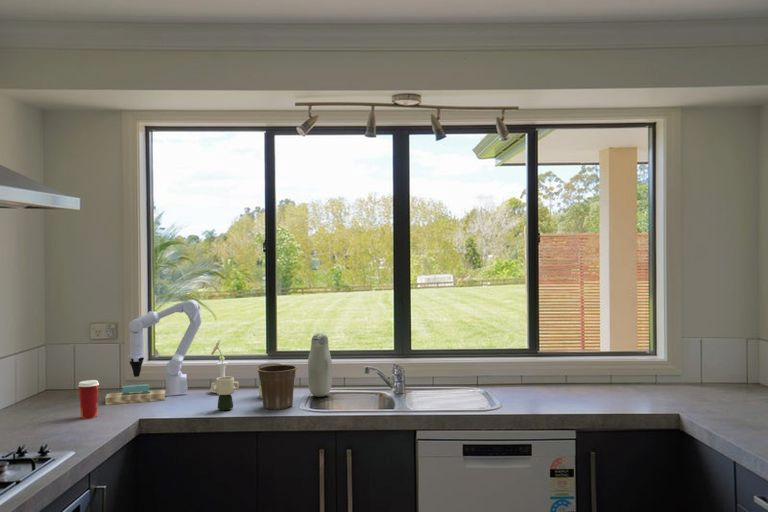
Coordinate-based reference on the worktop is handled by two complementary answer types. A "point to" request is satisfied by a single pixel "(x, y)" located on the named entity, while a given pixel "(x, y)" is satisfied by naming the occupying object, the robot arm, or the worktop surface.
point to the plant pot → (277, 385)
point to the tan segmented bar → (135, 397)
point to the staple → (135, 389)
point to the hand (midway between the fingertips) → (137, 375)
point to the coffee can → (259, 379)
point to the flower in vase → (220, 364)
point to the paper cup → (88, 398)
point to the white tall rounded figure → (319, 366)
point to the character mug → (225, 391)
